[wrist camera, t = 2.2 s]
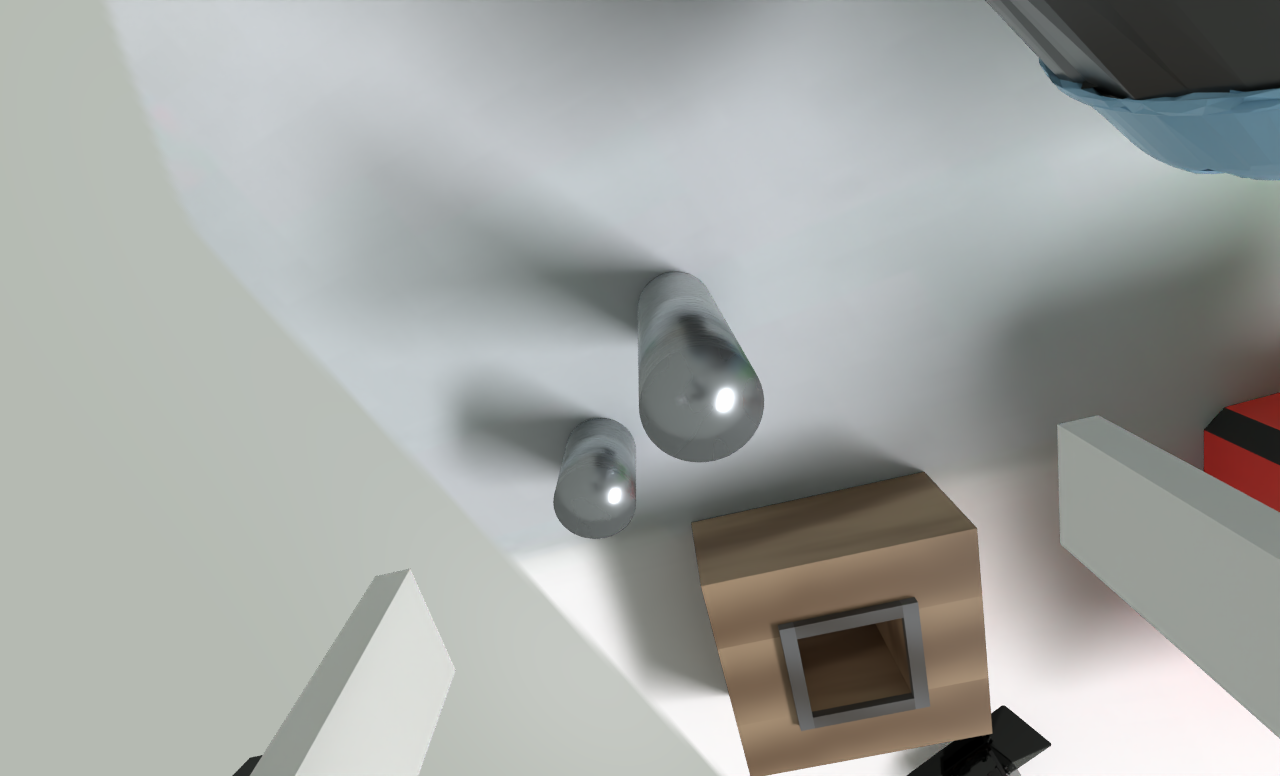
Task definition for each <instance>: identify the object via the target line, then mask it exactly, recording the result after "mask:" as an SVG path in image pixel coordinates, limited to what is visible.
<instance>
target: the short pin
mask: <svg viewBox="0 0 1280 776" xmlns="http://www.w3.org/2000/svg"><path fill="white" fill-rule="evenodd" d="M553 503H554V510H555V513H556V515H557V517H558V519H559V521H560V522H561V523H562V525H563V526H564V527H565V528H567V529H568V530H569V531H571V532H572V533H574V534H576V535H579V536H581V537H585V538H592V539H599V538H606V537H609V536H612V535H615V534H616V533H618V532H620V531H621V530H623V529H624V528H625V527H626V526H627V525H628V524H629V522H630V521H631V519H632V517H633V515H634V512H635V506H636V446H635V442H634V439H633V437H632V435H631V433H630V432H629V431H628V430H627V428H626V427H624V426H623V425H622V424H620V423H619V422H616V421H614V420H611V419H607V418H594V419H590V420H587V421H585V422H583V423H581V424H579V425H578V426H577V427H576V428H575V429H574V430H573V431H572V433H571V434H570V436H569V438H568V441H567V445H566V449H565V453H564V457H563V461H562V465H561V469H560V474H559V478H558V482H557V486H556V490H555V494H554V502H553Z"/></svg>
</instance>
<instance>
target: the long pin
mask: <svg viewBox="0 0 1280 776" xmlns="http://www.w3.org/2000/svg"><path fill="white" fill-rule="evenodd" d="M638 365H639V413H640V418H641V422H642V425H643V427H644V429H645V431H646V433H647V435H648V436H649V438H650V439H651V441H652V442H653V443H654V444H655V445H656V446H657V447H658V448H660V449H661V450H662V451H664V452H665V453H667V454H668V455H671V456H673V457H675V458H678V459H681V460H684V461H690V462H709V461H715V460H718V459H721V458H724V457H726V456H729V455H731V454H732V453H734V452H736V451H737V450H739V449H740V448H741V447H743V446H744V445H745V444H746V443H747V442H748V441H749V440H750V438H751V437H752V436H753V435H754V433H755V431H756V430H757V428H758V426H759V424H760V421H761V418H762V415H763V409H764V396H763V390H762V386H761V383H760V381H759V378H758V376H757V375H756V373H755V371H754V369H753V368H752V366H751V364H750V362H749V361H748V359H747V357H746V355H745V354H744V352H743V350H742V349H741V347H740V345H739V343H738V342H737V340H736V338H735V336H734V335H733V333H732V331H731V329H730V328H729V326H728V324H727V322H726V321H725V319H724V317H723V315H722V314H721V312H720V310H719V308H718V307H717V305H716V303H715V301H714V300H713V298H712V296H711V294H710V293H709V291H708V289H707V288H706V286H705V285H704V284H703V283H702V282H701V281H700V280H699V279H697V278H696V277H694V276H692V275H690V274H687V273H683V272H669V273H665V274H662V275H660V276H658V277H656V278H654V279H653V280H652V281H650V282H649V283H648V284H647V286H646V287H645V288H644V290H643V291H642V293H641V295H640V298H639V302H638Z"/></svg>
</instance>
